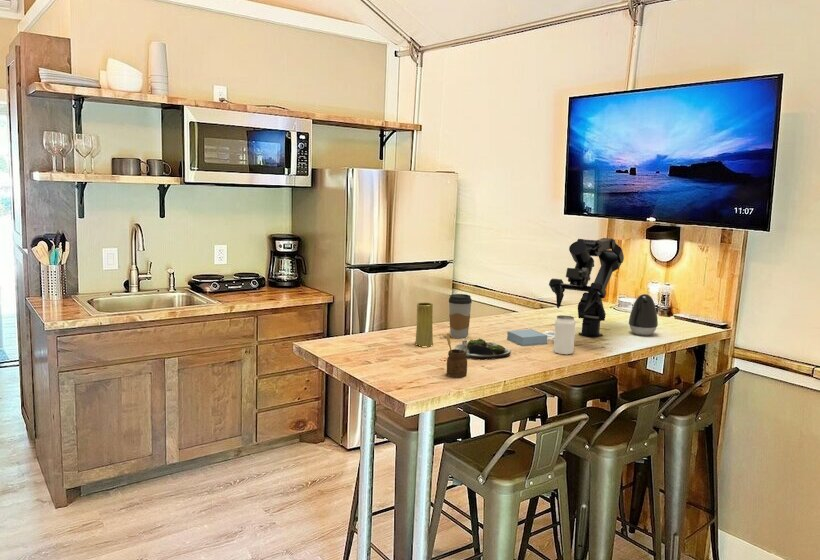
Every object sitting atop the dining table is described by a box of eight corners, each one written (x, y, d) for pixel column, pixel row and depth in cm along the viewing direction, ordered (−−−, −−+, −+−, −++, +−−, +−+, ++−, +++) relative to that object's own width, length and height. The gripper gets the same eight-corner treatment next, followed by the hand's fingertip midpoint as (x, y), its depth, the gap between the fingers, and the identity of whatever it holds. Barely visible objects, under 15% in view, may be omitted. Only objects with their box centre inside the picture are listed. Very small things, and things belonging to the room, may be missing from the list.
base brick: (530, 337, 234) (531, 329, 234) (547, 343, 225) (547, 335, 225) (507, 339, 231) (507, 331, 230) (522, 346, 221) (522, 337, 221)
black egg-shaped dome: (628, 336, 238) (631, 295, 236) (627, 330, 248) (630, 291, 246) (658, 338, 236) (661, 297, 233) (655, 332, 246) (658, 292, 243)
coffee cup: (472, 334, 236) (473, 294, 234) (468, 340, 228) (469, 298, 226) (450, 333, 239) (451, 293, 236) (445, 338, 231) (446, 296, 228)
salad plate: (442, 347, 219) (442, 334, 218) (488, 343, 226) (489, 330, 225) (467, 362, 201) (467, 348, 201) (517, 358, 208) (517, 344, 207)
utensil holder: (463, 378, 184) (464, 337, 182) (442, 376, 186) (443, 335, 184) (469, 373, 189) (470, 333, 187) (449, 370, 191) (450, 331, 190)
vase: (412, 345, 219) (413, 304, 217) (418, 341, 225) (419, 301, 223) (429, 347, 217) (430, 306, 215) (435, 343, 223) (436, 303, 221)
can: (565, 356, 210) (567, 320, 208) (549, 352, 214) (551, 316, 212) (577, 352, 214) (579, 317, 212) (561, 348, 219) (563, 314, 217)
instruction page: (548, 330, 245) (548, 330, 245) (569, 334, 239) (569, 334, 239) (531, 336, 236) (531, 335, 236) (553, 340, 230) (553, 339, 230)
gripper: (551, 256, 224) (538, 294, 218) (604, 260, 214) (592, 300, 208) (559, 273, 233) (547, 310, 227) (611, 278, 222) (599, 317, 216)
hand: (570, 309), depth 219 cm, fingers open, 9 cm apart
